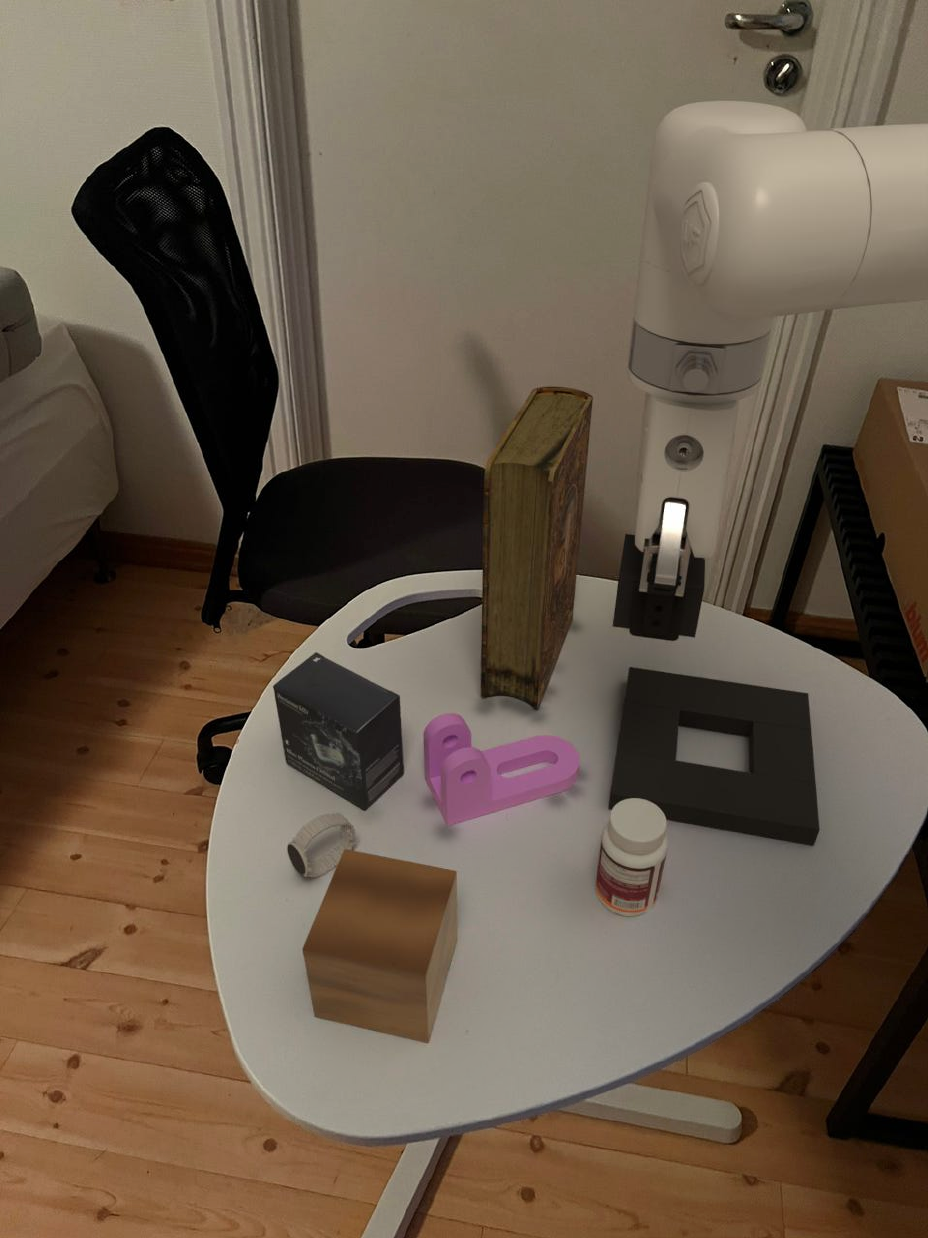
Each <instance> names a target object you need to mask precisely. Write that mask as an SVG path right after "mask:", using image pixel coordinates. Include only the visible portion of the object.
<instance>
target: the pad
mask: <svg viewBox="0 0 928 1238" xmlns="http://www.w3.org/2000/svg"><path fill="white" fill-rule="evenodd" d="M624 534H625V535H624V540H623V547H622V553H621V561H620V565H619V566H620V567H619V572H618V578H617V579H618V580H617V581H618V582H617V587H616V595H615V603H614V612H613V620H612V627H613V628H620V629H627V630H629V629H630V622H631V615H632V607H633V600H634V593H635V586H636V582H640V579H641V572H642V565H643V558H644V550H643V552H641V551H640V550H639V549H638V548H637V547H636V545H635V534H632V533H631V534H630V533H624ZM652 541H658V542H660V538H656V537H652ZM684 543H685V541H682V540H681V544H684ZM657 557H658V555H654V554H653V555H652V562H651V569H652V568H656V564H657ZM679 560H680V558H679ZM678 566H679V563H678ZM651 569H650V570H651ZM705 581H706V560H704V559H703V558H696V557H694V554H693V551H692V548H691V554H690V556H689V563H688V569H687V576H686V582H685V588H687V595H686V600H685V606H684V611H683V617H682V622H681V628H680V633H679V637H687V638H696V634H697V628H698V623H699V620H700V619H699V618H700V613H701V609H702V603H703V598H704V593H705Z"/></svg>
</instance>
